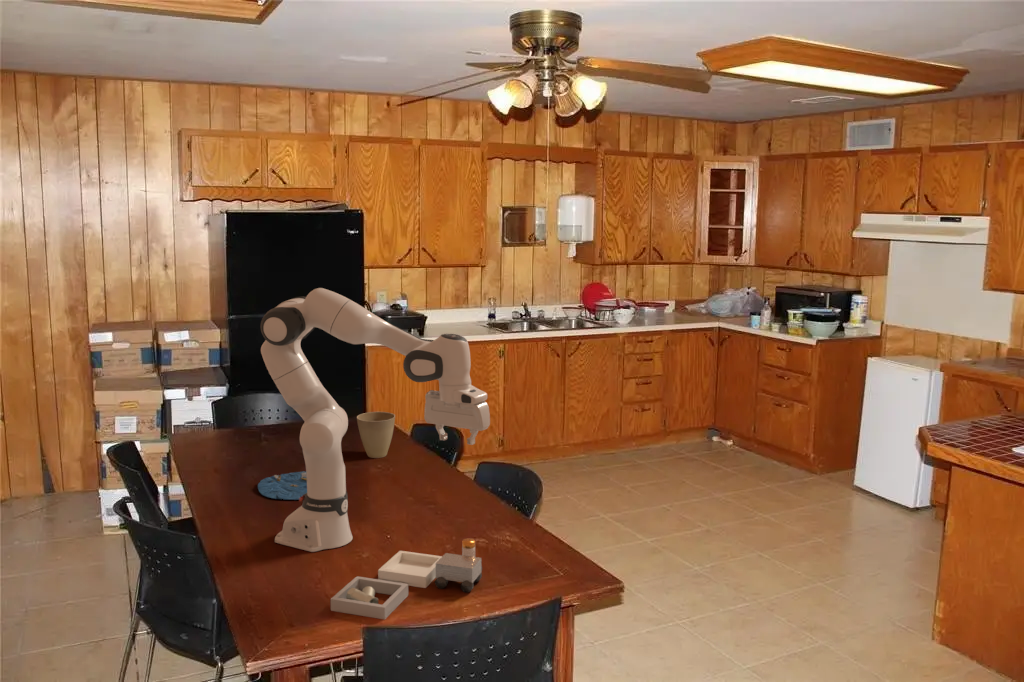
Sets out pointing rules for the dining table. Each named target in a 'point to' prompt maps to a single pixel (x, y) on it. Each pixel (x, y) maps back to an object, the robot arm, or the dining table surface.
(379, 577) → the tray
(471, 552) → the jar with orange lid
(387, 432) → the plant pot
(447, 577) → the wheeled grey cart
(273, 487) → the decorative plate
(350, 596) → the pipe fitting
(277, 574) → the dining table surface
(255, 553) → the dining table surface
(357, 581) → the parts bin
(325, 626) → the dining table surface
